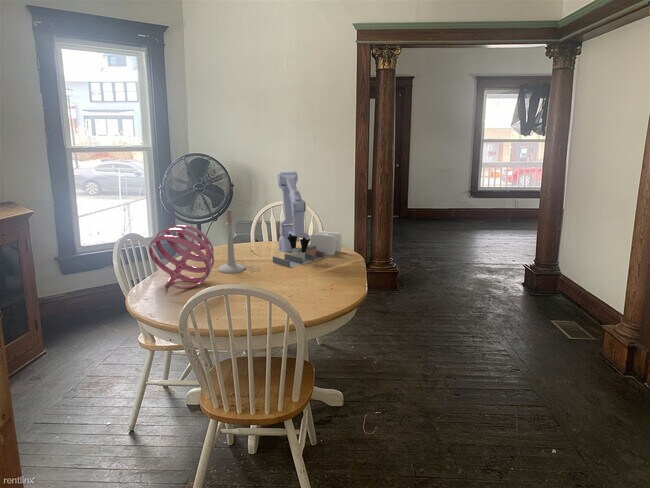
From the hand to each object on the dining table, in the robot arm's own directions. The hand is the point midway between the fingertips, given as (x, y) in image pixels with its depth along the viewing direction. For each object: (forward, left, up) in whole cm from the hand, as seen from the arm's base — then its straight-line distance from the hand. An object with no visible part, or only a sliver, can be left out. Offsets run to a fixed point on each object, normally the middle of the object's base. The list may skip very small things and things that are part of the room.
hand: (298, 250), depth 256 cm
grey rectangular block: (0, 0, -5) cm, 5 cm away
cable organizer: (-2, +21, -6) cm, 22 cm away
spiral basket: (-8, -60, -6) cm, 61 cm away
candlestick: (-13, -33, -6) cm, 36 cm away
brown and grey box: (0, +8, -5) cm, 9 cm away
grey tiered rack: (0, 0, -6) cm, 6 cm away
